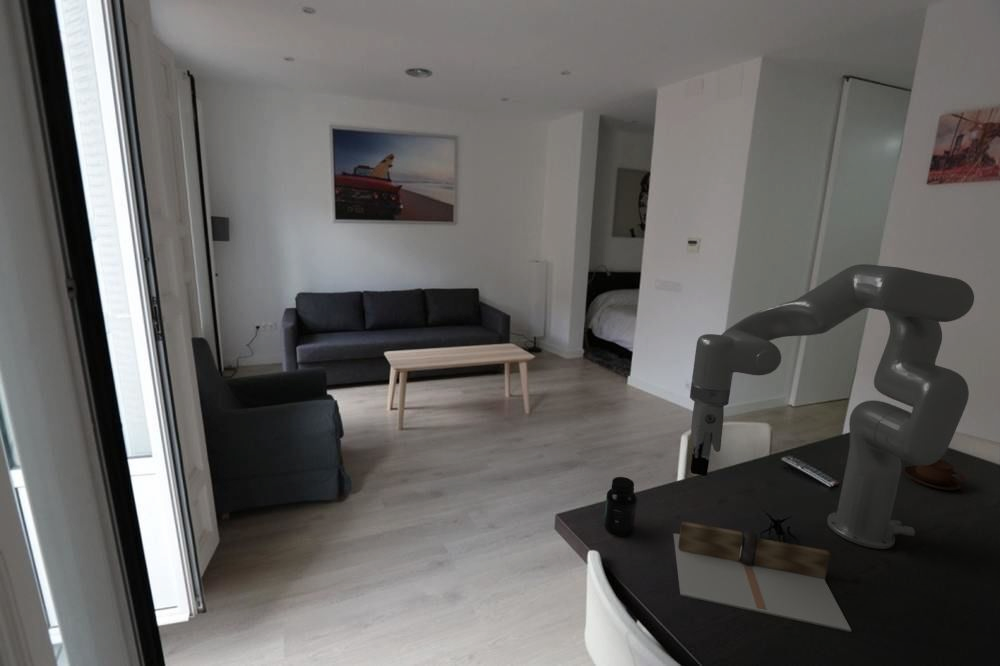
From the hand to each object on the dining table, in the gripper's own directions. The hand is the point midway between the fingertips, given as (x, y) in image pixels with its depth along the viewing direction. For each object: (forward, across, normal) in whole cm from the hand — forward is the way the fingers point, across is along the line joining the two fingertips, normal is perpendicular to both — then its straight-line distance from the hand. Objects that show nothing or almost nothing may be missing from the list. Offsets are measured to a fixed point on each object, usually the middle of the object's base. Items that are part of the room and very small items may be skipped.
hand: (698, 472), depth 103 cm
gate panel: (+15, -5, -3) cm, 17 cm away
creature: (+16, +6, -20) cm, 26 cm away
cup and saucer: (+15, +48, -69) cm, 85 cm away
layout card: (+16, -9, -11) cm, 21 cm away
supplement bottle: (+17, -1, +15) cm, 23 cm away
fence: (+16, -5, -17) cm, 24 cm away
